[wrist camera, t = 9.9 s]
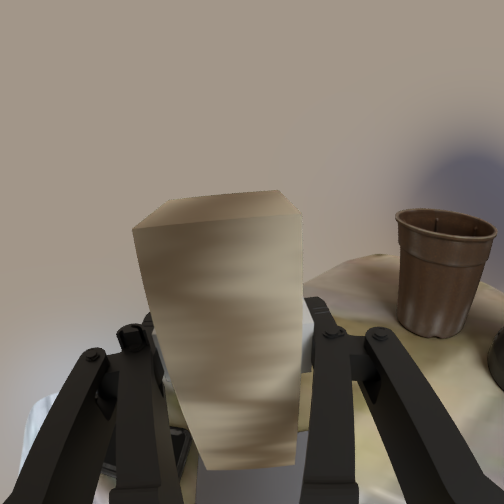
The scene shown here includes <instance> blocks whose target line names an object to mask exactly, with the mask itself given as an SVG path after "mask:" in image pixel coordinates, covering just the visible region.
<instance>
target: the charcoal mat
mask: <svg viewBox="0 0 504 504" xmlns="http://www.w3.org/2000/svg"><path fill="white" fill-rule="evenodd" d="M307 441H308V431H304V432H297V443H296V455H295V465H288V466H280V467H271V468H259V469H243V470H207V469H206V467H205V465H204V463H203V460H202V458H201V456H200V454H199V458H198V471H197V485H196V500H195V504H299V500H300V494H301V487H302V480H303V473H304V466H305V458H306V449H307Z"/></svg>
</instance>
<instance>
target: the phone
mask: <svg viewBox="0 0 504 504" xmlns="http://www.w3.org/2000/svg"><path fill="white" fill-rule="evenodd" d="M170 433H171V439H172V445H173V451H174V457H175V463H176V468H177V473H178V478H179V483H180V480H181V476H182V473H183V469H184V466H185V463H186V459H187V456H188V452H189V449H190V446H191V442H192V438H191V435H190V433H189V431H188V430H186V429H184V428H179V427H172V426H170ZM101 473H103V474H105V475H108V476H111V477H114V478H116V424H115V427H114V430H113V433H112V436H111V439H110V442H109V446H108V449H107V452H106V456H105V459H104V462H103V466H102V469H101Z"/></svg>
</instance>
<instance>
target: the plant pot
mask: <svg viewBox="0 0 504 504" xmlns="http://www.w3.org/2000/svg"><path fill="white" fill-rule="evenodd" d="M395 219H396V221H397V222H398V236H399V237H398V242H399V245H400V276H399V291H398V304H397V317H398V320H399V322H400V323H401V324H402V325H403V326H404V327H405V328H407V329H408V330H410V331H411V332H413V333H415V334H417V335H420V336H423V337H427V338H430V337H433V336H438V337H440V338H441V339H443V338H448V337H452V336H454V335H456V334H457V333H459V332H460V331H461V329H462V328H463V326H464V323H465V320H466V318H467V315H468V313H469V310H470V307H471V305H472V302H473V299H474V296H475V294H476V291H477V288H478V285H479V282H480V278H481V276H482V272H483V269H484V266H485V262H486V261H487V260H488V258H489V254H490V250H491V247H492V243H493V239H494V238H495V237H496V236H497V229H496V228H495V227H494V226H493V225H492V224H490V223H488V222H486V221H484V220H482V219H480V218H477V217H474V216H470V215H467V214H463V213H458V212H453V211H446V210H440V209H425V208H424V209H423V208H420V209H419V208H418V209H406V210H402V211H399V212H397V213H396V215H395Z"/></svg>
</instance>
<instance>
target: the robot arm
mask: <svg viewBox="0 0 504 504" xmlns="http://www.w3.org/2000/svg"><path fill="white" fill-rule="evenodd" d="M116 335H117V338H118V340H119V343H120V346H121V349H122V352H120V353H116V354H111V355H106V353H105V350H103V349H102V348H98V347H97V348H91V349H88V350H86V351H85V352H83V354H82V355H81V356H80V358H79V359H78V361H77V363H76V364H75V366H74V368H73V370H72V371H71V373H70V375H69V376H68V378H67V380H66V381H65V383H64V385H63V387H62V389H61V390H60V392H59V394H58V396H57V398H56V399H55V401H54V403H53V405H52V407H51V409H50V411H49V413H48V415H47V416H46V418H45V420H44V422H43V424H42V426H41V428H40V430H39V432H38V434H37V436H36V439H35V441H34V443H33V445H32V447H31V449H30V451H29V454H28V456H27V458H26V460H25V462H24V465H23V467H22V469H21V472H20V474H19V477H18V479H17V481H16V484H15V487H14V489H13V492H12V493H11V495H10V496H9V497H8V498H7V499H6V500H5V502H4V503H3V504H92V503H93V499H94V495H95V491H96V487H97V484H98V480H99V476H100V473H101V469H102V466H103V462H104V459H105V456H106V452H107V449H108V446H109V442H110V439H111V436H112V433H113V430H114V427H115V424H116V482H117V483H116V488H114V489H112V490H111V491H110V493H109V504H184V502H183V497H182V493H181V488H180V483H179V478H178V473H177V468H176V463H175V457H174V451H173V445H172V439H171V433H170V426H169V419H168V411H167V403H166V395H165V387H164V384H163V381H162V379H163V375H164V374H165V377H166V380H167V381H171V379H170V376H169V373H168V370H167V367H166V364H165V361H164V358H163V355H162V351H161V348H160V345H159V341H158V338H157V335H156V331H155V327H154V324H153V320H152V317H151V313H150V312H149V313H148V314H147V315H146V317H145V318H144V320H143V323H142V324H129V325H126V326H124V327H122V328H120V329H119V330H118V331H117V334H116ZM488 365H489V369H490V372H491V374H492V376H493V378H494V379H495V381H496V382H497V384H498V385H499V386H500V387H501V388H502V389H503V390H504V327H503V328H502V329H501V330H500V331H499V332H498V333H497V335H496V336H495V338H494V340H493V343H492V345H491V348H490V350H489V353H488ZM312 366H313V369H314V373H313V384H312V399H311V411H310V421H309V431H308V441H307V449H306V458H305V466H304V473H303V480H302V487H301V494H300V500H299V504H359V487H358V484H357V483H356V482H355V436H354V410H353V393H352V381H357V382H358V384H359V387H360V389H361V391H362V394H363V396H364V398H365V400H366V403H367V405H368V407H369V410H370V412H371V415H372V417H373V419H374V422H375V424H376V426H377V429H378V431H379V434H380V436H381V439H382V441H383V444H384V446H385V448H386V451H387V453H388V456H389V458H390V461H391V464H392V466H393V469H394V471H395V474H396V476H397V479H398V482H399V484H400V487H401V490H402V492H403V495H404V498H405V501H406V503H407V504H504V491H503V490H502V489H501V488H500V487H498V486H497V485H496V484H495V483H494V482H492V481H491V480H490V479H489V478H488V477H486V476H485V475H484V474H483V472H482V470H481V468H480V466H479V464H478V463H477V461H476V459H475V457H474V455H473V454H472V452H471V450H470V448H469V447H468V445H467V443H466V441H465V440H464V438H463V436H462V435H461V433H460V431H459V430H458V428H457V426H456V425H455V423H454V421H453V420H452V418H451V417H450V415H449V413H448V412H447V410H446V409H445V407H444V405H443V404H442V402H441V401H440V399H439V398H438V396H437V395H436V393H435V392H434V390H433V388H432V387H431V385H430V384H429V382H428V381H427V379H426V378H425V376H424V375H423V374H422V372H421V371H420V369H419V368H418V366H417V365H416V363H415V362H414V360H413V359H412V358H411V356H410V355H409V353H408V352H407V350H406V349H405V348H404V346H403V345H402V343H401V342H400V341H399V339H398V338H397V336H396V335H395V334H394V332H392V331H391V330H390V329H388V328H384V327H373V328H370V329H369V330H368V331H367V332H366V334H365V336H353V335H348V334H347V332H346V330H345V329H344V328H342V327H340V326H337V324H336V322H335V320H334V318H333V317H332V315H331V313H330V311H329V309H328V308H327V305H326V303H325V302H324V301H323V300H322V299H321V298H319V297H310V298H303V321H302V357H301V373H306V372H311V367H312Z"/></svg>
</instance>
